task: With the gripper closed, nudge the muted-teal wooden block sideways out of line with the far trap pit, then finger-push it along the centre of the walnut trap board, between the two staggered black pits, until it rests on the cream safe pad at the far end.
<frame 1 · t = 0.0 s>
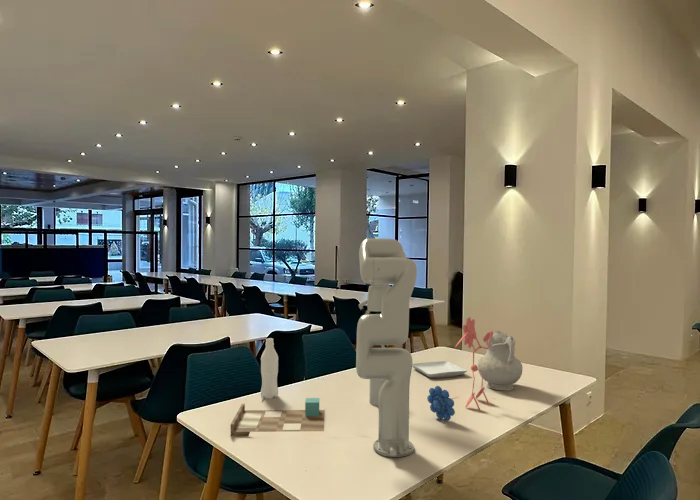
hand: (379, 324, 192), 31 cm above the table, fingers open, 9 cm apart
grapes: (439, 420, 172), on the table
water bottle: (269, 399, 194), on the table
pink stick figure: (468, 403, 191), on the table
cup: (379, 403, 190), on the table
salad plate: (438, 373, 236), on the table
block: (312, 413, 173), point 1 cm above the table, touching trap board
trap board: (280, 424, 167), on the table
ceramic pitcher: (501, 388, 212), on the table
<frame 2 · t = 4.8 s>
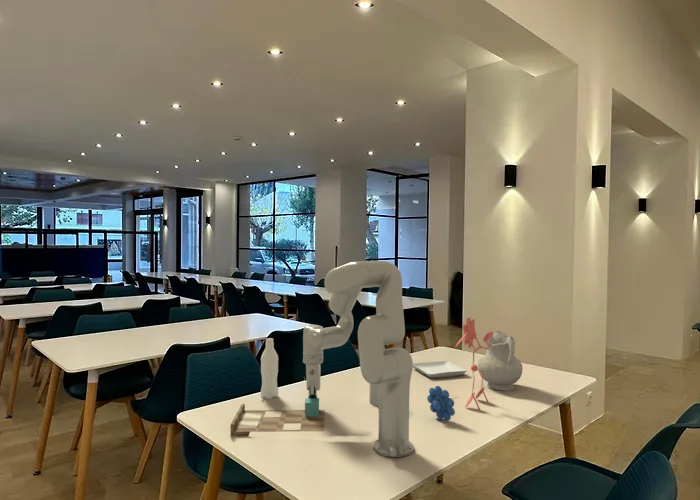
hand: (312, 406, 178), 3 cm above the table, fingers closed
block: (312, 414, 173), point 2 cm above the table, touching gripper
everything else where it was.
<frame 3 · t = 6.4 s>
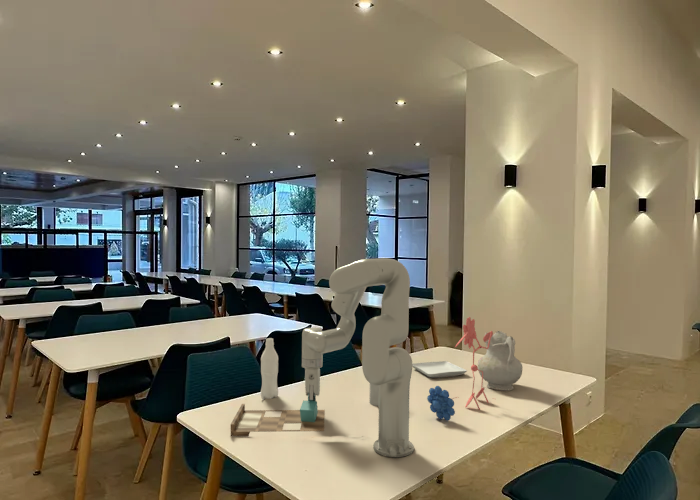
hand: (311, 412, 171), 3 cm above the table, fingers closed
block: (309, 416, 168), point 2 cm above the table, tilted 20°, touching gripper, trap board
everything else where it was.
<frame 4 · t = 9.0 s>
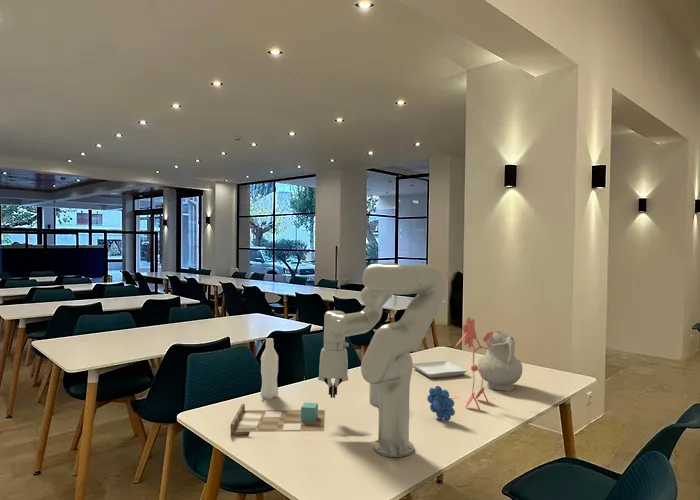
hand: (332, 396, 168), 10 cm above the table, fingers closed
block: (309, 419, 168), point 1 cm above the table, touching trap board
everything else where it was.
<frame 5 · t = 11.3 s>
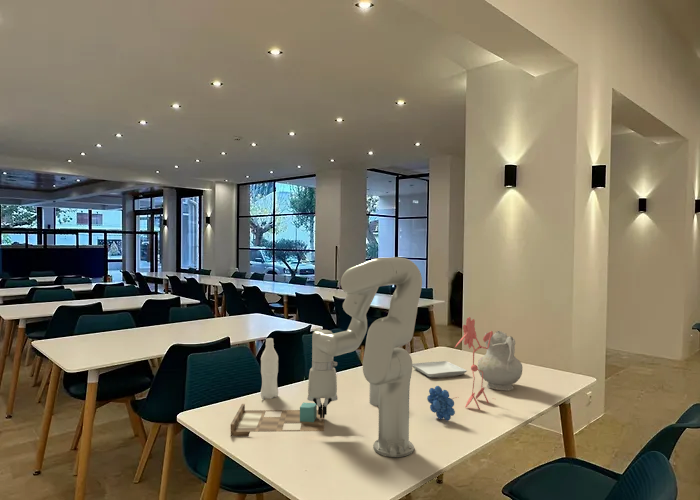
hand: (322, 416, 168), 3 cm above the table, fingers closed
block: (308, 419, 168), point 2 cm above the table, touching gripper
everything else where it was.
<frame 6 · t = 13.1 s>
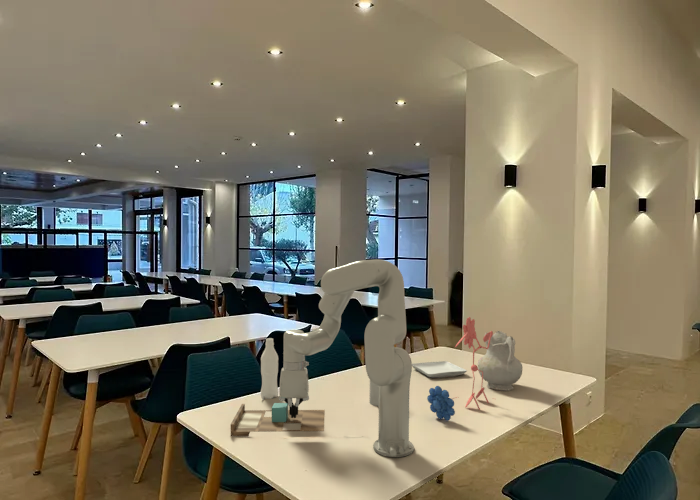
hand: (293, 416, 167), 3 cm above the table, fingers closed
block: (279, 419, 167), point 2 cm above the table, touching gripper, trap board
everything else where it was.
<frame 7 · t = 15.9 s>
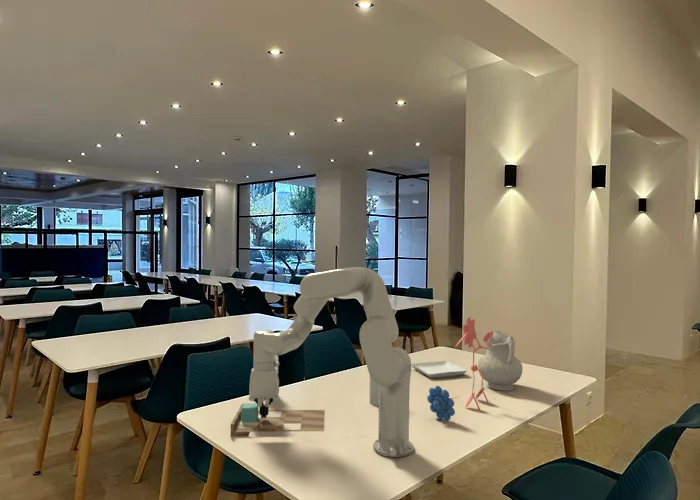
hand: (264, 416, 167), 3 cm above the table, fingers closed
block: (250, 419, 167), point 1 cm above the table, touching gripper, trap board
everything else where it was.
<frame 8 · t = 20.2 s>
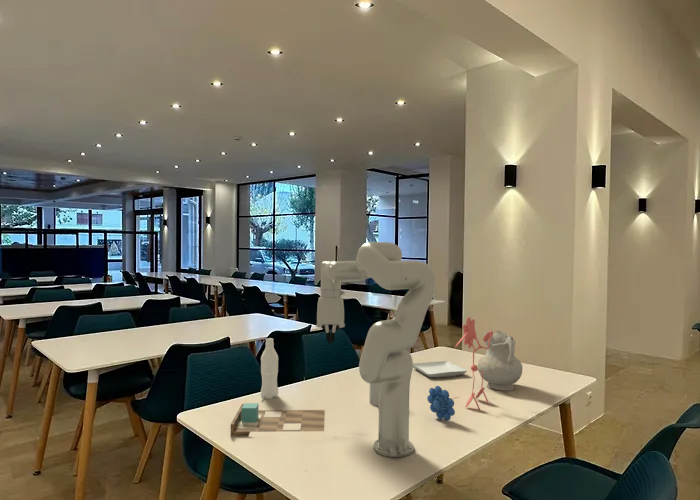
hand: (330, 342, 176), 27 cm above the table, fingers closed
block: (250, 419, 167), point 1 cm above the table, touching trap board
everything else where it was.
at the end: block inside the target area (0.7 cm from its centre), point 1.5 cm above the table; block tilted 0° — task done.
